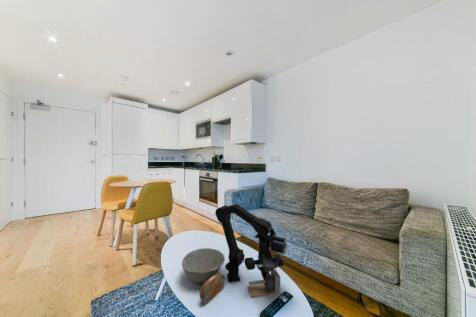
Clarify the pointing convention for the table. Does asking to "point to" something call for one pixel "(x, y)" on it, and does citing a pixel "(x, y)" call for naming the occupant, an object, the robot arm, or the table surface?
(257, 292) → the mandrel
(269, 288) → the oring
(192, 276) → the ceramic bowl
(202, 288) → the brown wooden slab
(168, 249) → the table surface
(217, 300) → the table surface
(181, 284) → the table surface
